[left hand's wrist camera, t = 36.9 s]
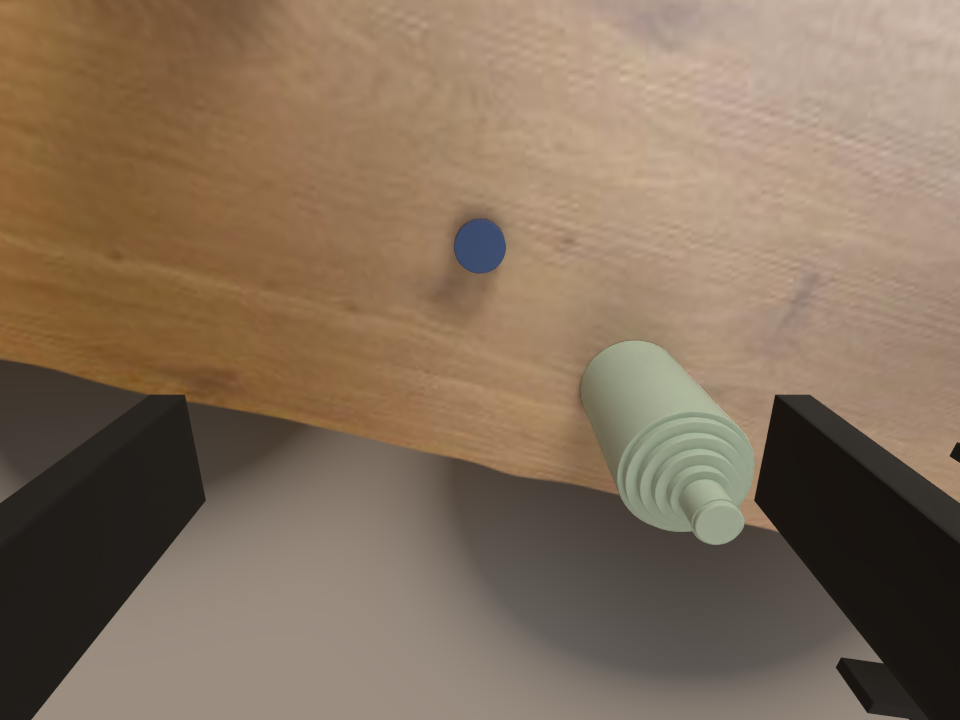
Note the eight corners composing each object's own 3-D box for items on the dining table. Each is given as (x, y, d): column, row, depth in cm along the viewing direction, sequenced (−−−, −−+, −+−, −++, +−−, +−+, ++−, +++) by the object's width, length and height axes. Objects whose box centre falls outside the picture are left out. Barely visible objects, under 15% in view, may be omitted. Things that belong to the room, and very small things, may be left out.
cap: (499, 272, 43) (500, 277, 41) (452, 264, 43) (450, 268, 41) (508, 223, 42) (509, 226, 40) (459, 215, 41) (458, 217, 40)
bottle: (586, 439, 48) (645, 598, 31) (574, 349, 45) (633, 469, 28) (683, 423, 47) (799, 577, 30) (677, 332, 45) (802, 443, 27)
